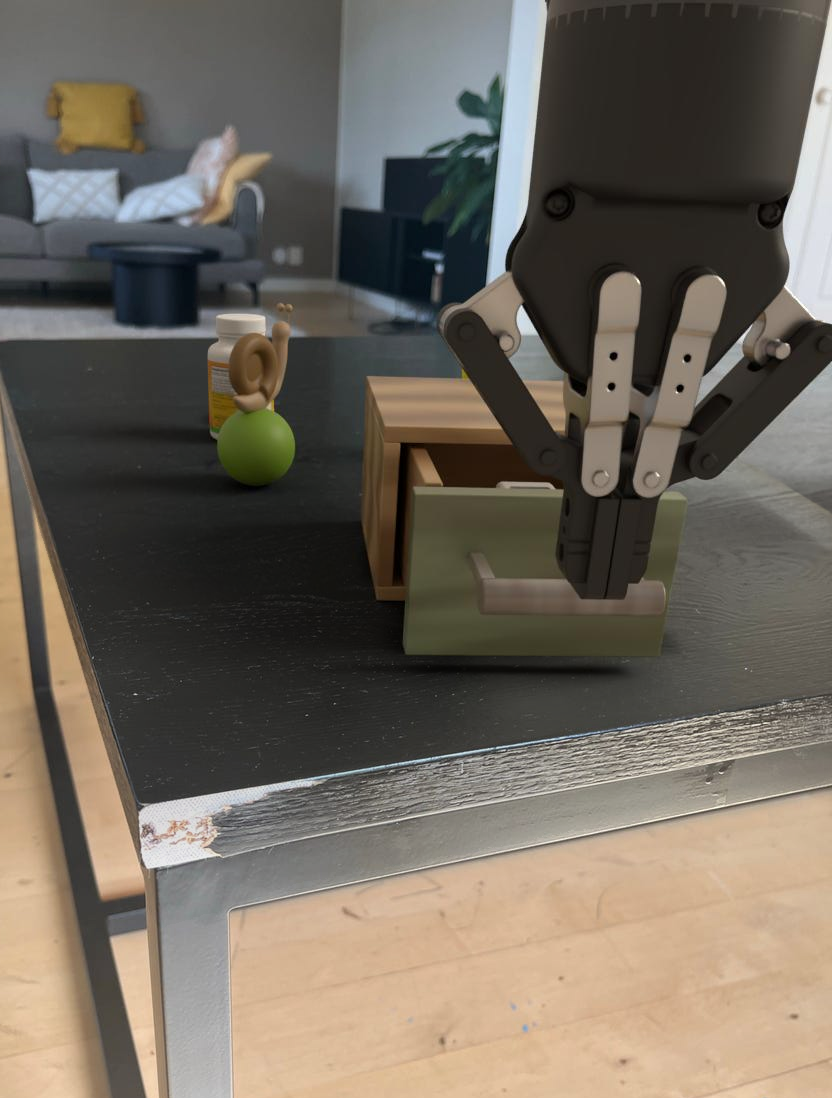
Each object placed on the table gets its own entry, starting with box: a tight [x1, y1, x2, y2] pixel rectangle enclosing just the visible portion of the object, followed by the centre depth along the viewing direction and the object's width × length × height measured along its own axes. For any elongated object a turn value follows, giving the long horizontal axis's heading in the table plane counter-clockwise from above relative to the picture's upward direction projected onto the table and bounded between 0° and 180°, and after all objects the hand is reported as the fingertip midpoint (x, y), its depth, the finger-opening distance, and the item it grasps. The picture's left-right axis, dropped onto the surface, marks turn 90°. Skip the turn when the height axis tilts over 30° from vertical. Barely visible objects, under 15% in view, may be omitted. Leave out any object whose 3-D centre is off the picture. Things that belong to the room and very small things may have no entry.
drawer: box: [396, 443, 689, 658], centre depth 45 cm, size 17×11×7 cm, turn 3°
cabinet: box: [360, 375, 566, 602], centre depth 56 cm, size 14×13×9 cm
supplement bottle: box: [207, 313, 275, 441], centre depth 81 cm, size 5×5×10 cm
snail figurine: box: [216, 302, 296, 487], centre depth 68 cm, size 5×6×12 cm
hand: (596, 591), depth 35 cm, fingers closed
